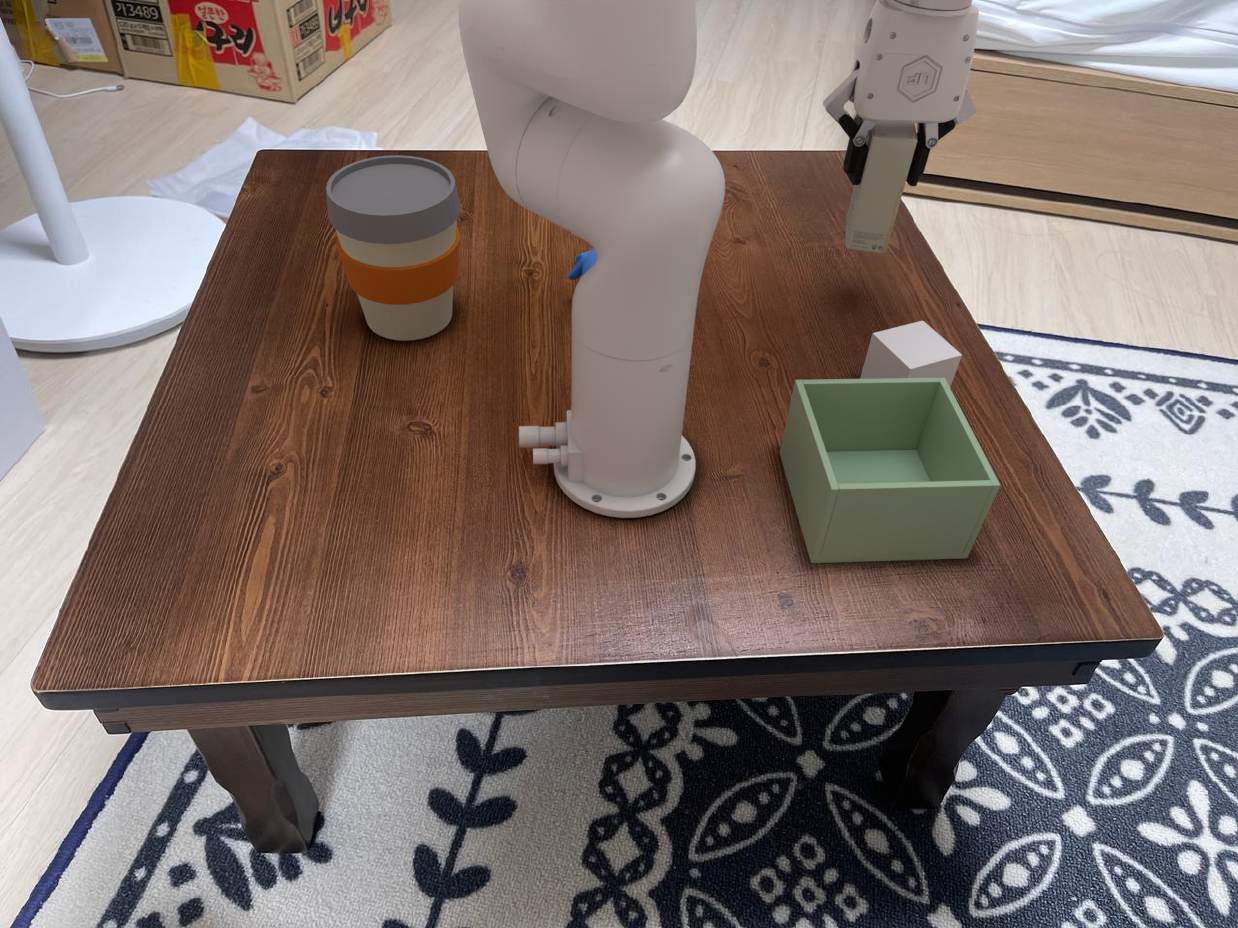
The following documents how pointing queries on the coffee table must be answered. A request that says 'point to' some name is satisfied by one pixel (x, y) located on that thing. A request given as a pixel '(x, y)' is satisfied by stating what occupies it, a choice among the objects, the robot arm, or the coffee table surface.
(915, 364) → the white cube
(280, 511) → the coffee table surface
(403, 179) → the reusable coffee cup
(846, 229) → the cosmetic box
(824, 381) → the bin
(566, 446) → the robot arm
